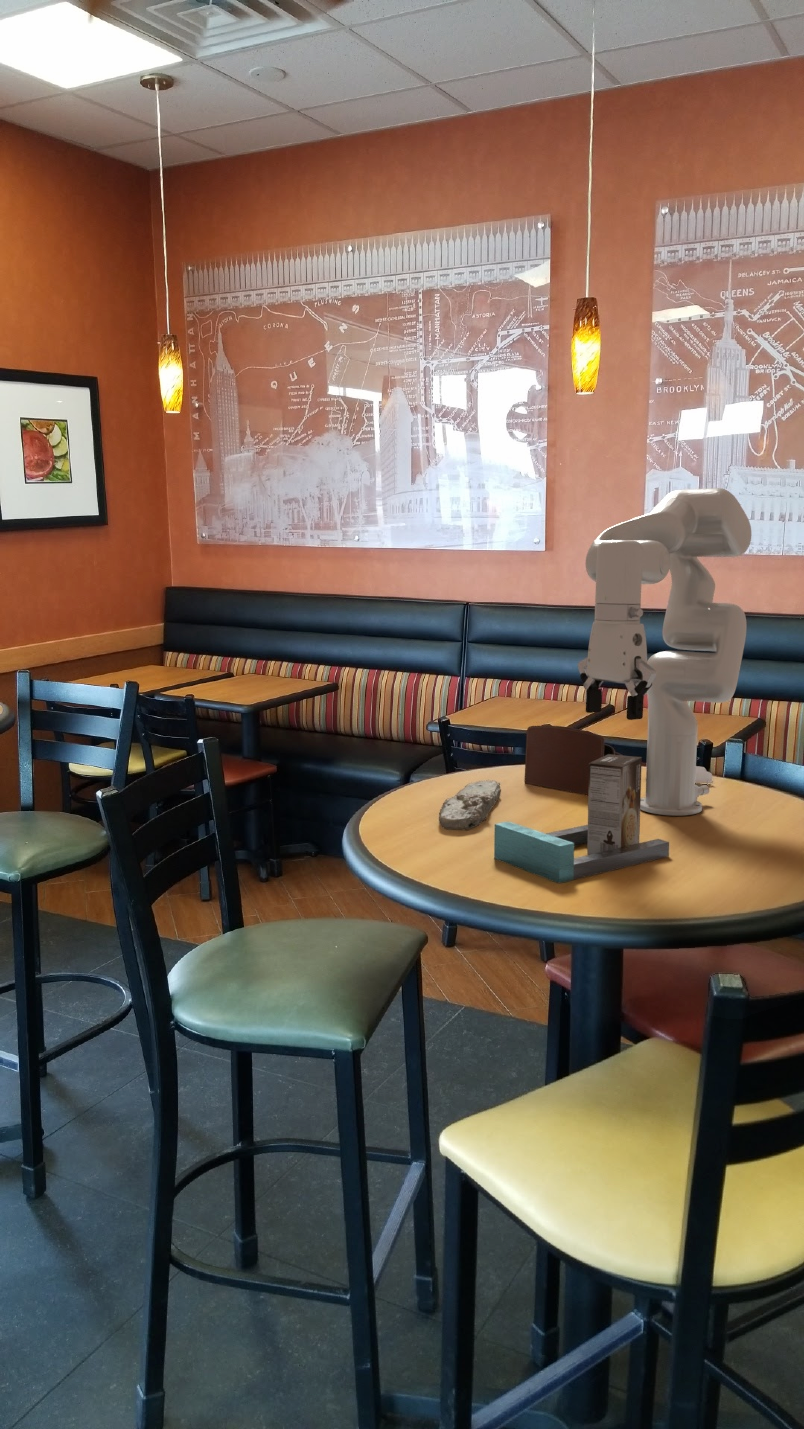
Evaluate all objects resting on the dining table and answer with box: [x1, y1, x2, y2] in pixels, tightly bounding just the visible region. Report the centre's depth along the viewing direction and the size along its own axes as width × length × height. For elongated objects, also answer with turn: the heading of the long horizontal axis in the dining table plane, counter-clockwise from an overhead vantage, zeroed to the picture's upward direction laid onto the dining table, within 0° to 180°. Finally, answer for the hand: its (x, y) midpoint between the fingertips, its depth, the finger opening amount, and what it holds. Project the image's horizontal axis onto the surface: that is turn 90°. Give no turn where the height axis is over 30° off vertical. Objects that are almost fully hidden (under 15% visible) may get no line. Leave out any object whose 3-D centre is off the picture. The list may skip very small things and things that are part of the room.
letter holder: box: [523, 725, 622, 797], centre depth 225 cm, size 10×20×14 cm, turn 48°
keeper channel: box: [493, 821, 670, 884], centre depth 175 cm, size 25×16×6 cm, turn 124°
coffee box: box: [586, 754, 643, 855], centre depth 178 cm, size 9×6×16 cm
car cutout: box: [695, 765, 714, 786], centre depth 230 cm, size 15×7×4 cm, turn 65°
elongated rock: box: [438, 779, 502, 831], centre depth 207 cm, size 35×5×10 cm
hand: (613, 715), depth 176 cm, fingers open, 9 cm apart
